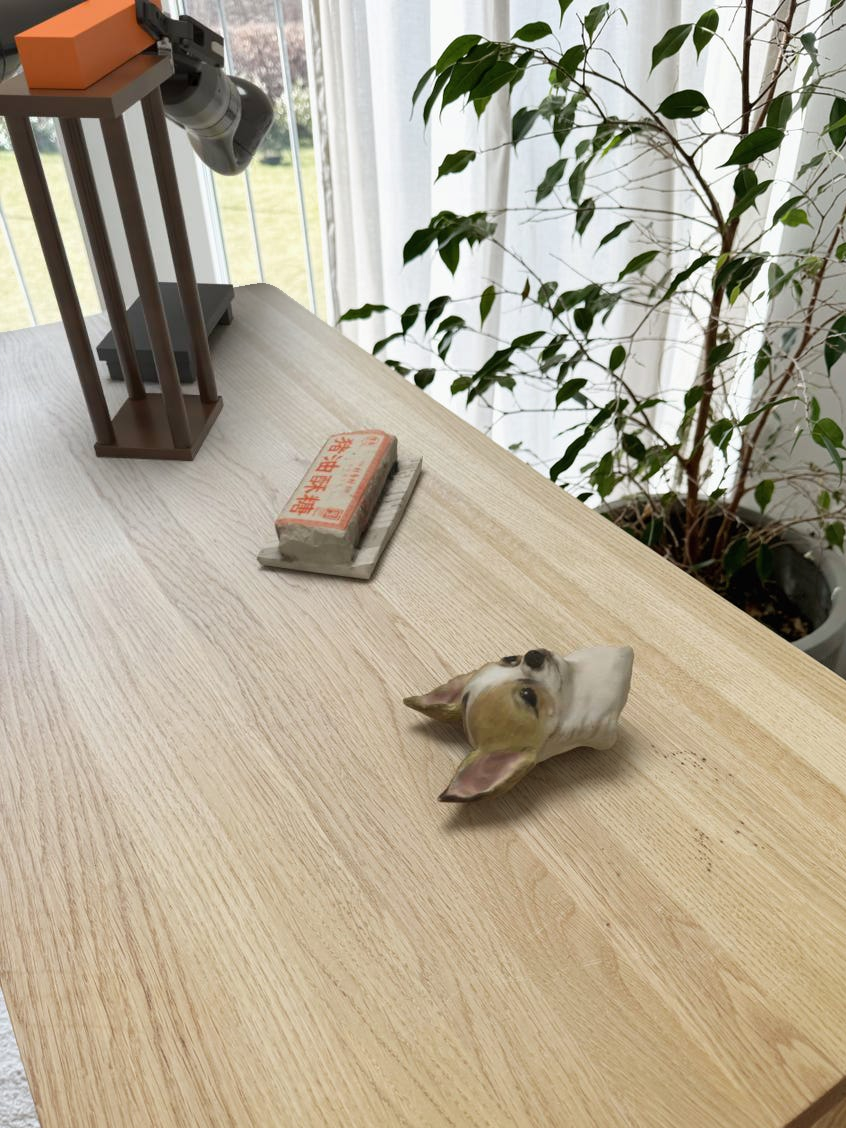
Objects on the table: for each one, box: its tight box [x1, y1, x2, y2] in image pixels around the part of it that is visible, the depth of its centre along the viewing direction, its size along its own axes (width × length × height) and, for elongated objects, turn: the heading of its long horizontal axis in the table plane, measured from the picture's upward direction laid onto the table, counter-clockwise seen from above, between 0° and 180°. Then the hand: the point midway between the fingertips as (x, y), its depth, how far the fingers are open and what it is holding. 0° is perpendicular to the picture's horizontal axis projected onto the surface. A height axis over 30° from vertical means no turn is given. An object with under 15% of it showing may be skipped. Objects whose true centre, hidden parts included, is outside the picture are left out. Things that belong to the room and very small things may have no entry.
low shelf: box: [95, 281, 236, 384], centre depth 114 cm, size 18×10×4 cm, turn 175°
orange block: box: [14, 0, 163, 89], centre depth 83 cm, size 20×4×4 cm, turn 175°
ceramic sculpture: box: [402, 644, 635, 804], centre depth 66 cm, size 11×9×15 cm
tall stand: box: [0, 55, 224, 461], centre depth 91 cm, size 14×10×32 cm
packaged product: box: [256, 428, 424, 580], centre depth 88 cm, size 18×5×10 cm
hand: (109, 8), depth 85 cm, fingers closed on orange block, 4 cm apart
